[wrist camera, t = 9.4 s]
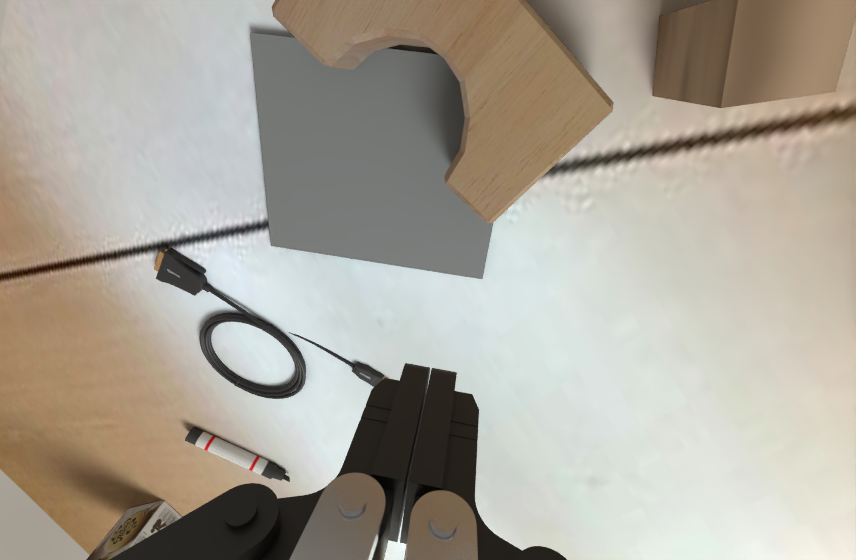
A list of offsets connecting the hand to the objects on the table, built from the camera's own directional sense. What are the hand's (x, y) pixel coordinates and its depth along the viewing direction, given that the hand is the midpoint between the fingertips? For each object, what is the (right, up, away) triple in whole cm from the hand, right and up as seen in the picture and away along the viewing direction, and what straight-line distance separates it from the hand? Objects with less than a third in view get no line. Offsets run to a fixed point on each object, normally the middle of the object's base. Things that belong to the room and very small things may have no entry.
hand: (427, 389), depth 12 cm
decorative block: (+9, +11, +18) cm, 23 cm away
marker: (-26, -21, +45) cm, 57 cm away
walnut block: (+19, +19, +16) cm, 31 cm away
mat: (-4, +13, +23) cm, 27 cm away
